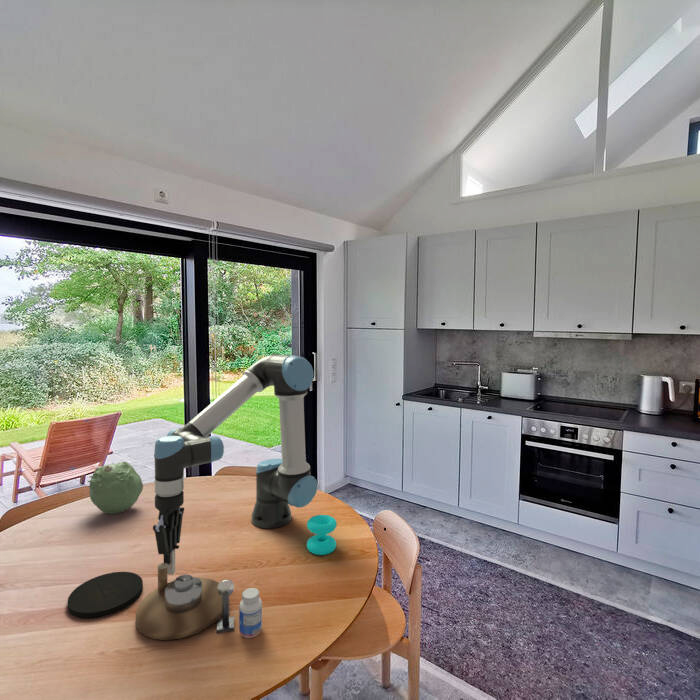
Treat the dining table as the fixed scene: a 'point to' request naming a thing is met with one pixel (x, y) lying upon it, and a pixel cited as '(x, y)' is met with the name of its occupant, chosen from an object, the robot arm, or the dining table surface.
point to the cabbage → (115, 487)
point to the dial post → (225, 606)
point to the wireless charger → (105, 595)
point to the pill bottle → (250, 613)
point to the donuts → (321, 534)
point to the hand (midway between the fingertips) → (169, 572)
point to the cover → (183, 594)
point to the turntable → (177, 625)
